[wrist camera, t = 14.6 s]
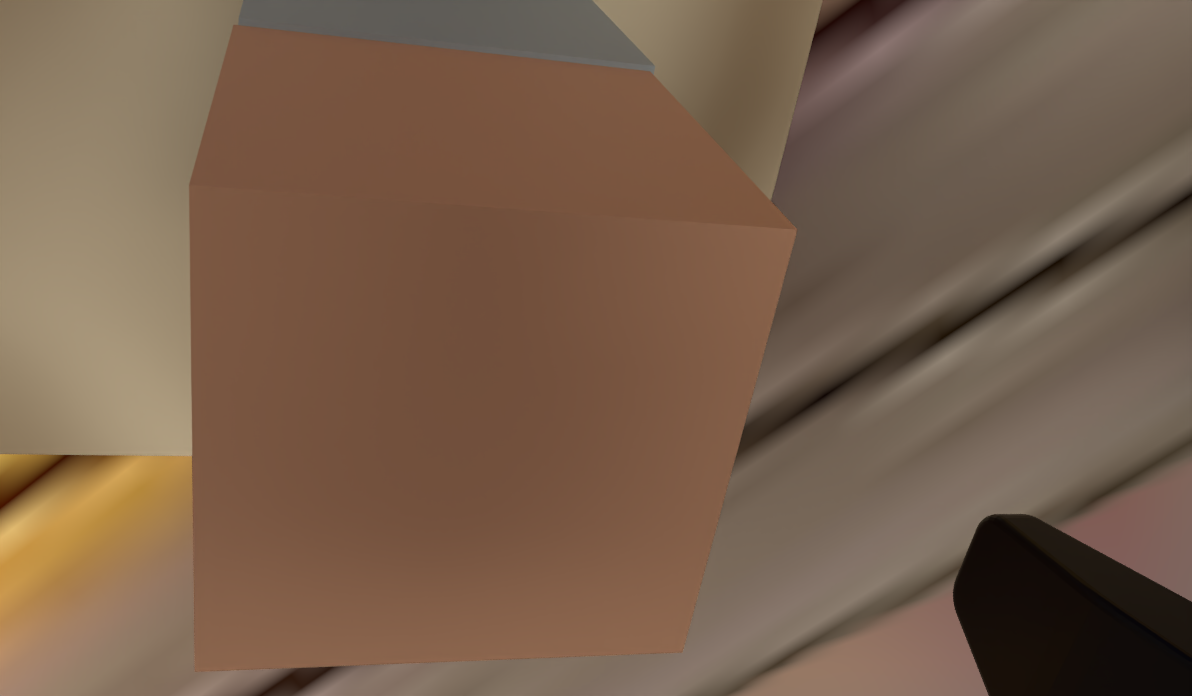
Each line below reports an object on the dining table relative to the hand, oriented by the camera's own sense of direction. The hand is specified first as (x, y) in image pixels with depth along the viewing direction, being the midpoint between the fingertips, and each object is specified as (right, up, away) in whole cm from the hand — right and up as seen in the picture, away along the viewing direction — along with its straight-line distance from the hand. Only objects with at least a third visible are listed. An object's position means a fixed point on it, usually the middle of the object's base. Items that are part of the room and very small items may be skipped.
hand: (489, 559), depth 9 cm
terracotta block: (-1, +3, +5) cm, 6 cm away
